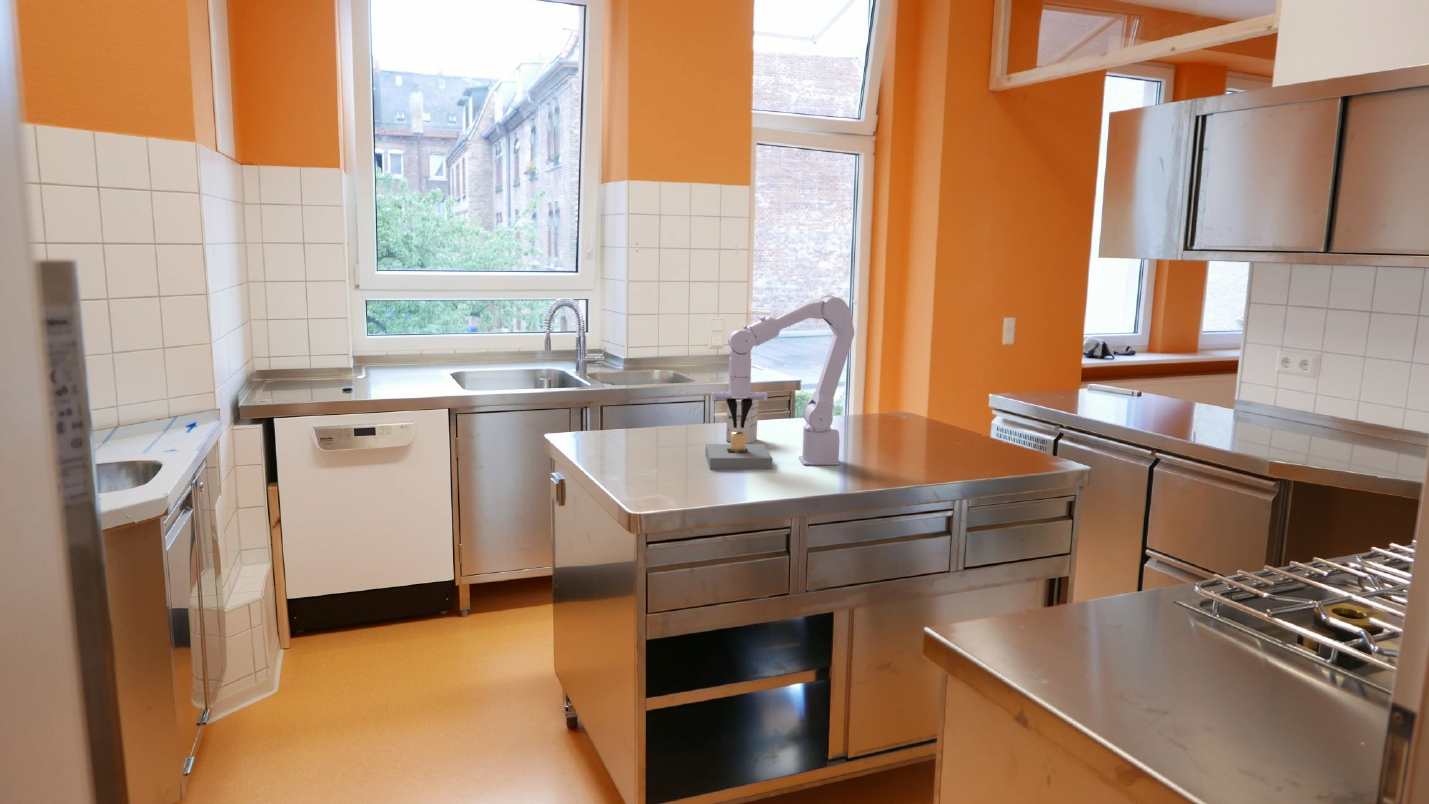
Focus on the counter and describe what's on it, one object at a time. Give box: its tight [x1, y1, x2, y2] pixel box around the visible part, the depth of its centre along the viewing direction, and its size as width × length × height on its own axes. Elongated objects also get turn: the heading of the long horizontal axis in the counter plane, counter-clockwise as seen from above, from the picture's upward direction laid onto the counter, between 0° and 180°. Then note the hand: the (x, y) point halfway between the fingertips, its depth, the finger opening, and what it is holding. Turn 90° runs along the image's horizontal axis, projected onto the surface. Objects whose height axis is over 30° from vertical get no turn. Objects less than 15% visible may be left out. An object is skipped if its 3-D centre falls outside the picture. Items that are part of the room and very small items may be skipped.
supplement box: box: [725, 397, 759, 444], centre depth 265 cm, size 7×7×13 cm
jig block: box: [704, 443, 773, 471], centre depth 240 cm, size 16×16×3 cm
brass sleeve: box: [730, 431, 747, 453], centre depth 240 cm, size 4×4×8 cm
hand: (738, 427), depth 239 cm, fingers closed
